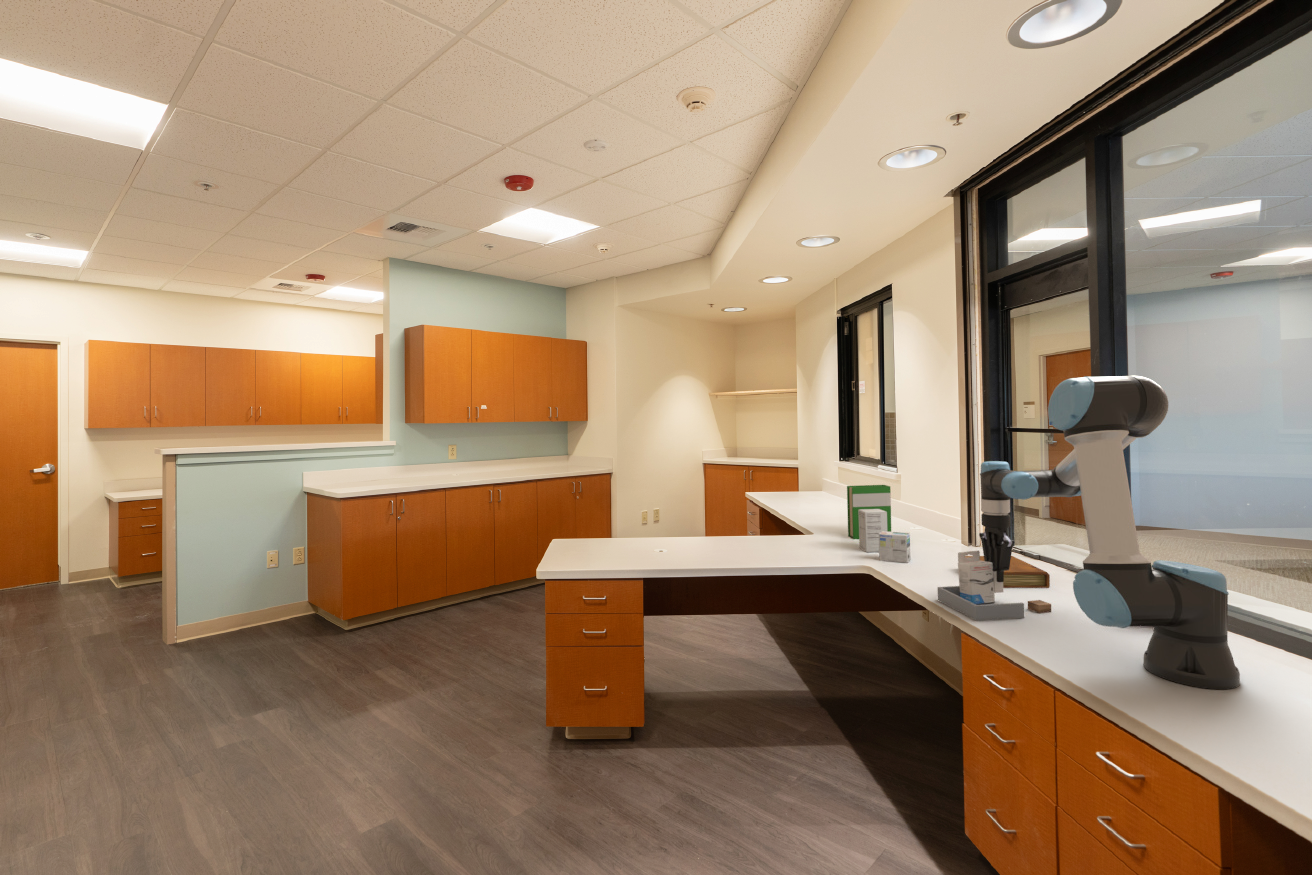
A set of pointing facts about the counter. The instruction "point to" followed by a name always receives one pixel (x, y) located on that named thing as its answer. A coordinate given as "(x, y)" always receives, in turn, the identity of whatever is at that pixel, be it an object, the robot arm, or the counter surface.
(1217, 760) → the counter surface
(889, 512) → the hardback book
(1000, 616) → the tray
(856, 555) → the counter surface
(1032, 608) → the walnut block
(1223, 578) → the robot arm
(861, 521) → the supplement box
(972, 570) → the ink box
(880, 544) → the light bulb box
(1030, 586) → the diary
